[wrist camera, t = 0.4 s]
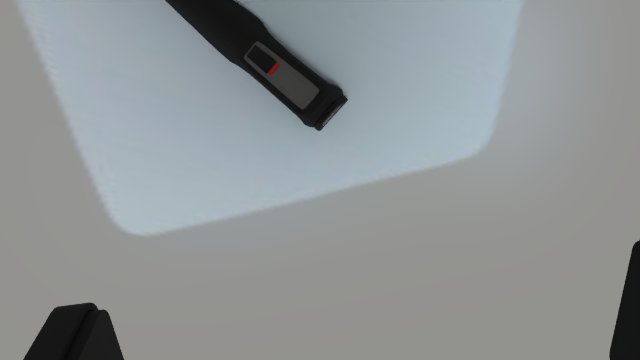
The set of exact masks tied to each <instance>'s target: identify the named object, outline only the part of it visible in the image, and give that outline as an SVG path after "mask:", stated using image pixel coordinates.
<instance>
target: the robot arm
mask: <svg viewBox="0 0 640 360" xmlns="http://www.w3.org/2000/svg"><path fill="white" fill-rule="evenodd" d="M23 360H124V358H123V355H122V352H121V350H120V346H119V343H118V340H117V337H116V334H115V331H114V328H113V325H112V322H111V319H110V316H109V314H108V312H107V311H106V310H98V308H97V306H96V305H95V304H93V303H83V304H76V305H67V306H60V307H56V308H54V310H53V311H52V312H51V313H50V315H49V317H48V319H47V320H46V322H45V324H44V325H43V327H42V329H41V330H40V332H39V334H38V336H37V337H36V339H35V341H34V342H33V344H32V346H31V347H30V349H29V351H28V352H27V354H26V356H25V358H24V359H23ZM610 360H640V240H639V241H638V242H636V243H635V244H634V246H633V248H632V253H631V257H630V262H629V266H628V271H627V276H626V280H625V285H624V290H623V294H622V298H621V303H620V307H619V312H618V317H617V321H616V325H615V330H614V335H613V339H612V344H611V348H610Z"/></svg>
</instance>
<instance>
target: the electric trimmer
mask: <svg viewBox="0 0 640 360" xmlns="http://www.w3.org/2000/svg"><path fill="white" fill-rule="evenodd" d="M165 1H167V2H168V3H169V4H170V5H171V6H172V7H173V8H174V9H175V10H176V11H177V12H178V13H179V14H180V15H181V16H182V17H183V18H184V19H185V20H186V21H187V22H188V23H189V24H191V25H192V26H193V27H194V28H195V29H196V30H197V31H198V32H199V33H200V34H201V35H202V36H203V37H204V38H205V39H206V40H207V41H208V42H209V43H210V44H211V45H212V46H213V47H215V48H216V49H217V50H218V51H219V52H220V53H221V54H222V55H223V56H225V57H226V58H227V59H228V60H229V61H230V62H232V63H234V64H236V65H238V66H239V67H241V68H242V69H243V70H245V71H246V72H247V73H249V74H250V75H251V76H252V77H254V78H255V79H256V80H257V81H258V82H260V83H261V84H262V85H263V86H264V87H265V88H266V89H267V90H269V91H270V92H271V93H272V94H273V95H274V96H275V97H276V98H278V99H279V100H280V101H281V102H282V103H283V104H284V105H285V106H287V107H288V108H289V109H290V110H291V111H292V112H293V113H294V114H296V115H297V116H298V117H299V118H300V119H301V120H302V122H303V123H304V124H305V125H307V126H309V127H315V129H317V130H318V131H320V130H322V128H323V127H324V126H325V125H326V124H327V123H328V122H329V120H330V119H331V118H332V117H333V116H334V115H335V114H336V113H337V112H338V110H339V109H340V108H341V107H342V106H343V105H344V104H345V103H346V102H347V100H348V99H347V98H346V97H345V96H343V91H342V90H341V89H340V88H339V87H338V86H335V85H331V84H329V83H327V82H326V81H325V80H323V79H322V78H321V77H320V76H318V75H317V74H316V73H314V72H313V71H312V70H311V69H309V68H308V67H307V66H305V65H304V64H303V63H302V62H300V61H299V60H298V59H297V58H296V57H294V56H293V55H292V54H291V53H290V52H288V51H287V50H286V49H285V48H284V47H283V46H282V45H281V44H280V43H279V42H277V41H276V40H275V39H274V38H273V37H272V36H271V35H270V33H269V32H268V31H267V30H266V28H265V26H264V25H263V23H262V22H261V21H260V20H259V19H258V18H257V17H256V16H254V15H253V14H252V13H250V12H249V11H248V10H246V9H245V8H244V7H242V6H241V5H239V4H238V3H236V2H235V1H234V0H165ZM336 100H337V101H336Z"/></svg>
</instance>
